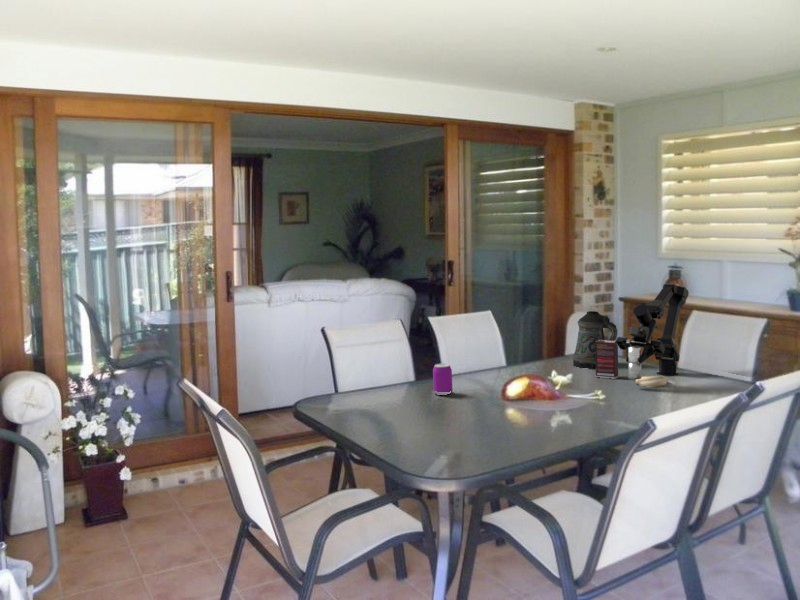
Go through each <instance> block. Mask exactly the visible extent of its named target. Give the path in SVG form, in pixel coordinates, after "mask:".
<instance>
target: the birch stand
mask: <svg viewBox="0 0 800 600" xmlns="http://www.w3.org/2000/svg"><path fill="white" fill-rule="evenodd" d="M667 383H668V382H667V378H666V377H664V376H660V375H641V379H635V385H637V384H638V385H637V386H639V385H640V387H643V386H646V387H645V388H660V387H661V386H663V387H666V386H667ZM665 385H666V386H665ZM661 388H662V387H661Z"/></svg>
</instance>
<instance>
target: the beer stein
mask: <svg viewBox="0 0 800 600" xmlns="http://www.w3.org/2000/svg"><path fill="white" fill-rule="evenodd" d="M577 326H578V333H577V340H576V346H575V350H574V353H573V356H572V366H573V367H575V366H576V367H575V368H577V367H579V369H582V368H589V369H588V370H596V352H595V341H597V340H606V339H605V332H604V331H605V329H609V330H610V331H611V336H610V338H609V340H611V341H616V339H617V338H618V328H617V325H616V324H614V322H612V321H610V318H609V317H608V316H607V315H602V314H601V313H599V311H594V310H593V311H591V310H589V311H587V312H586V314H584V315H582V316H581V317H580V318H579V319H578V321H577Z"/></svg>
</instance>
